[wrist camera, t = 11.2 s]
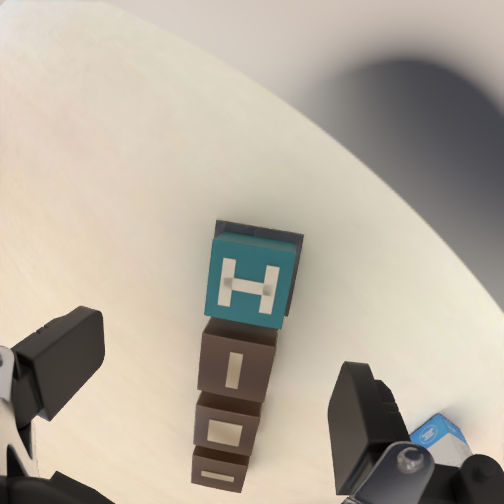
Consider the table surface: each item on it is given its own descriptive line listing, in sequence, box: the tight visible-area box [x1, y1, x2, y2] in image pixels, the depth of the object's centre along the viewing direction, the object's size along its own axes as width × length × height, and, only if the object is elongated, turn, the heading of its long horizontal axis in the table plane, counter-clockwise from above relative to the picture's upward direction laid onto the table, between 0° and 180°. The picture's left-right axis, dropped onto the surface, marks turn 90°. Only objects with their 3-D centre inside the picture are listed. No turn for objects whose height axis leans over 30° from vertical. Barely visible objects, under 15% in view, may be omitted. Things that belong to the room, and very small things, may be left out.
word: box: [191, 220, 304, 493], centre depth 22 cm, size 23×6×3 cm, turn 171°
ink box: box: [409, 413, 473, 467], centre depth 16 cm, size 9×5×15 cm, turn 139°
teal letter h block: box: [204, 231, 296, 329], centre depth 19 cm, size 5×5×3 cm
